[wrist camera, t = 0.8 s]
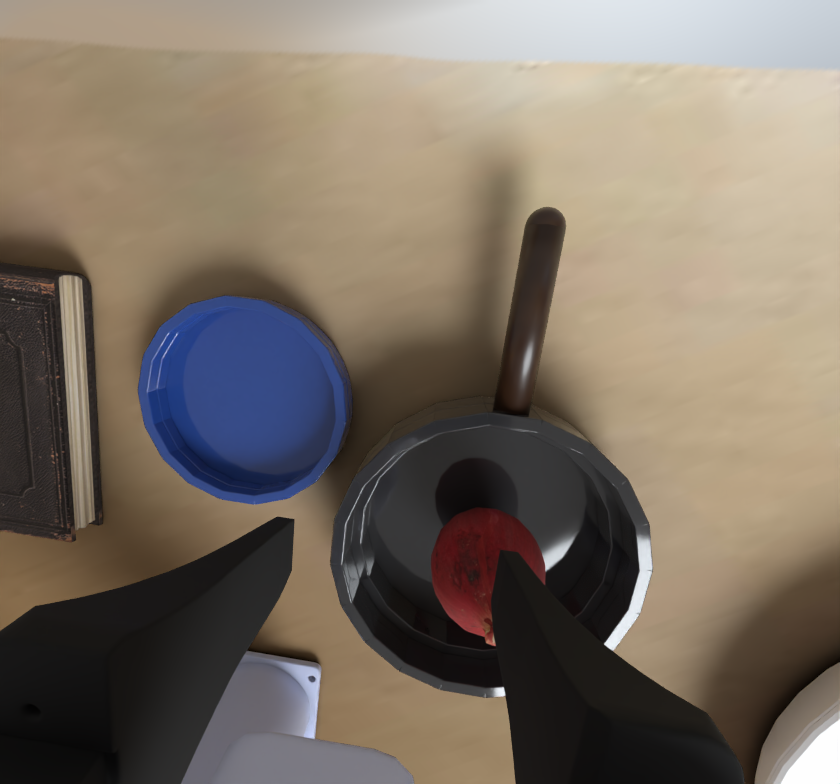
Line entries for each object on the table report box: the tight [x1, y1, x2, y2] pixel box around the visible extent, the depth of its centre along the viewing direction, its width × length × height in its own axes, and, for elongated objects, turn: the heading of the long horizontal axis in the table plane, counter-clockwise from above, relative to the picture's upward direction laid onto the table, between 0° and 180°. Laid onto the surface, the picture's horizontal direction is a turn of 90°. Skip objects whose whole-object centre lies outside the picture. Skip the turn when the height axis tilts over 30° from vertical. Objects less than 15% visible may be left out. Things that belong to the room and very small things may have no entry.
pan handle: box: [493, 207, 566, 415], centre depth 19 cm, size 10×2×2 cm, turn 173°
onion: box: [431, 507, 546, 646], centre depth 20 cm, size 6×6×8 cm
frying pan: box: [330, 396, 653, 698], centre depth 22 cm, size 16×16×4 cm
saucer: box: [138, 295, 353, 504], centre depth 22 cm, size 12×12×2 cm
